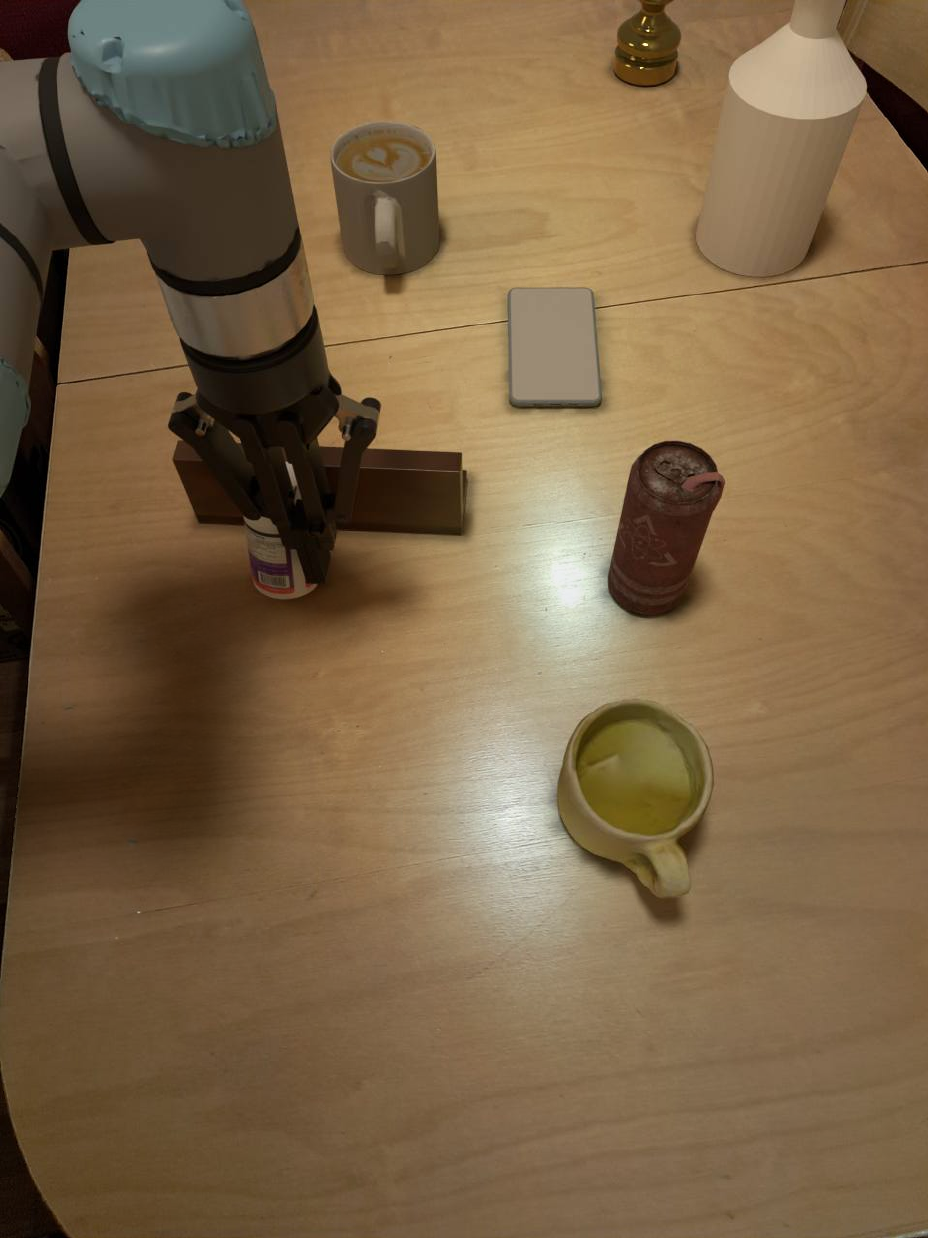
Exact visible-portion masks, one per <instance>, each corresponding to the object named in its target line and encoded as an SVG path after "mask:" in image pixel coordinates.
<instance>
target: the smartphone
mask: <svg viewBox="0 0 928 1238" xmlns="http://www.w3.org/2000/svg"><path fill="white" fill-rule="evenodd" d="M593 291H594V290H592V289H590V288H589V287H585V286H583V287H581V286H580V287H576V286H575V287H571V286H570V287H569V286H568V287H567V286H565V287H562V286H561V287H558V286H557V287H513V288H511V289H509V291H508V293H507V337H508V339H507V340H508V344H507V345H508V346H507V347H508V391H509V392H508V399H509V402H510V403H511V405H513V406H515V407H596V406H598V405H600V403H602V398H603V392H602V382H601V370H600V369H601V368H600V356H599V345H598V329H597V317H596V316H597V315H596V309H595V308H596V305H595V295H594V292H593Z"/></svg>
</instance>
